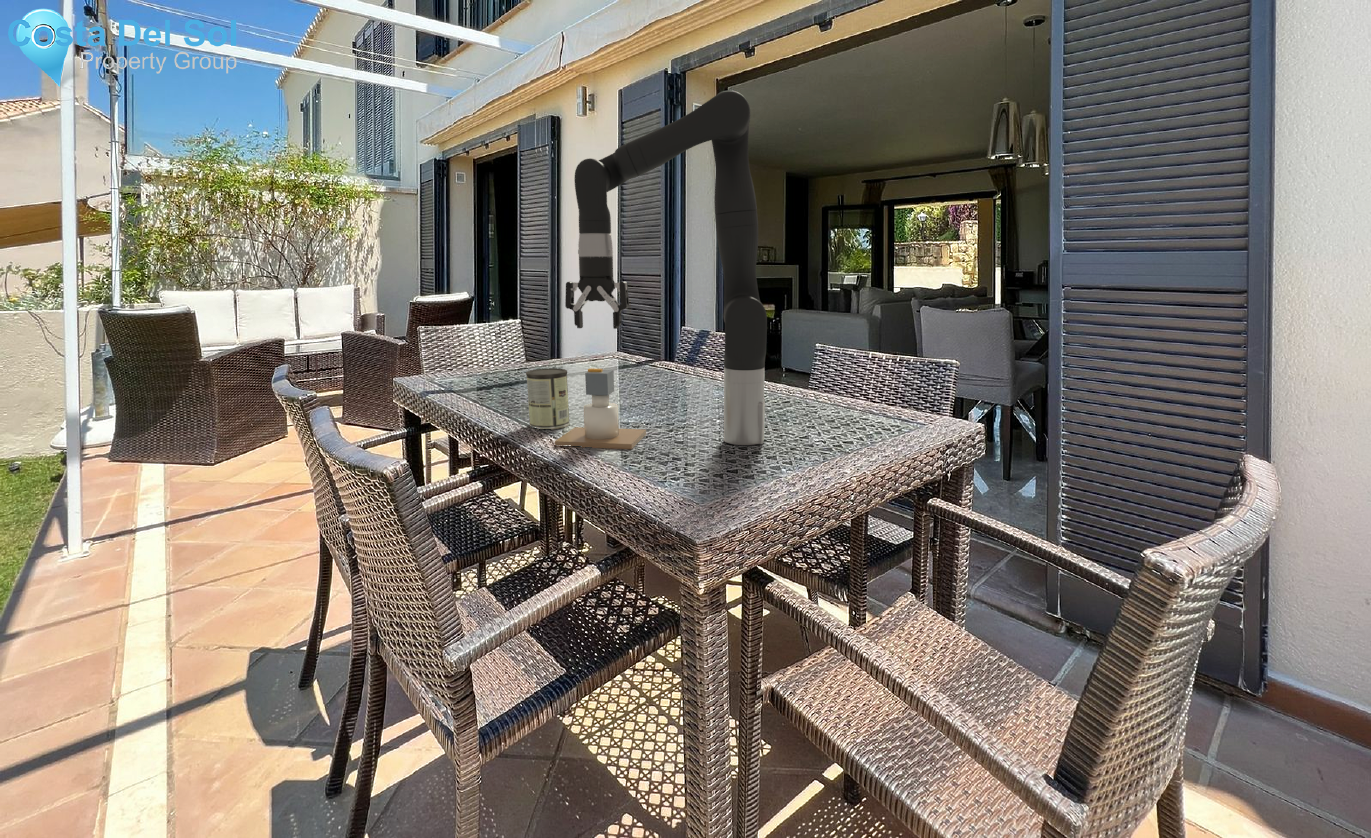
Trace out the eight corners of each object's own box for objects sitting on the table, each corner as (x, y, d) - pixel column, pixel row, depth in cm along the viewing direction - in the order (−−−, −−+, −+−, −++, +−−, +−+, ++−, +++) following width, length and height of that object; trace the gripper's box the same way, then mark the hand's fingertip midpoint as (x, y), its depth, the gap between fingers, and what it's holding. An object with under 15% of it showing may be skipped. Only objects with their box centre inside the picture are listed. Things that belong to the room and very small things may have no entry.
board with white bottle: (646, 434, 172) (645, 389, 169) (631, 449, 158) (630, 401, 156) (575, 431, 175) (573, 388, 172) (555, 446, 161) (552, 399, 159)
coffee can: (536, 420, 188) (533, 368, 185) (574, 421, 187) (571, 368, 184) (523, 429, 178) (520, 374, 175) (563, 430, 177) (561, 374, 174)
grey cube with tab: (614, 391, 166) (613, 367, 165) (607, 395, 161) (607, 370, 160) (592, 390, 167) (592, 367, 166) (586, 394, 162) (585, 370, 161)
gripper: (631, 255, 160) (632, 327, 163) (570, 255, 162) (573, 326, 166) (622, 254, 152) (623, 330, 156) (559, 255, 155) (562, 329, 158)
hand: (597, 328), depth 161 cm, fingers open, 8 cm apart
